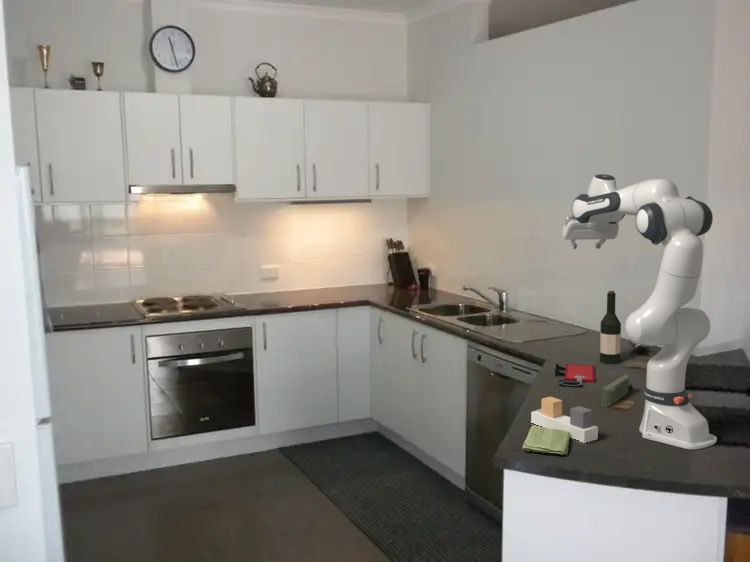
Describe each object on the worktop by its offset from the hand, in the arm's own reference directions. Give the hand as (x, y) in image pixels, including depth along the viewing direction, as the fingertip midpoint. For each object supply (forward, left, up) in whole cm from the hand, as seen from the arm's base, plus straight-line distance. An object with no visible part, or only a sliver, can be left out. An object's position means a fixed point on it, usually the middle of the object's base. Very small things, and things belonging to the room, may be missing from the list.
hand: (585, 247), depth 278 cm
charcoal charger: (-39, +45, -50) cm, 78 cm away
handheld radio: (-20, +4, -52) cm, 56 cm away
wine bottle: (+13, -32, -52) cm, 62 cm away
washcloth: (-36, +57, -52) cm, 86 cm away
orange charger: (-27, +45, -50) cm, 72 cm away
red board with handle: (+8, -4, -52) cm, 53 cm away
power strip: (-32, +45, -52) cm, 76 cm away
